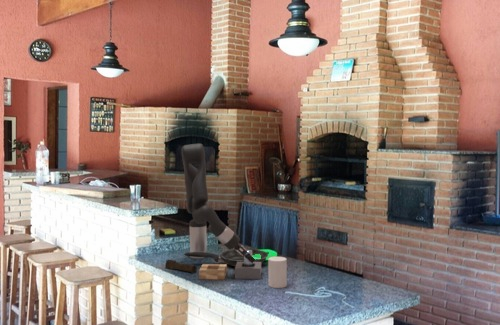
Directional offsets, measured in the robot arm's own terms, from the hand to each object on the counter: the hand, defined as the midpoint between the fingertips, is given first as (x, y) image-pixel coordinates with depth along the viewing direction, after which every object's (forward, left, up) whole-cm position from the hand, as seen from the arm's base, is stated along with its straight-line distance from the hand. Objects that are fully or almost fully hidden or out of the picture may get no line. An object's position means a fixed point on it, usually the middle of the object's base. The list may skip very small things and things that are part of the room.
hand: (251, 259), depth 243 cm
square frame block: (+1, -18, -8) cm, 20 cm away
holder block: (0, -1, -8) cm, 8 cm away
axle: (+1, -1, -8) cm, 8 cm away
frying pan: (-20, -12, -8) cm, 25 cm away
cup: (+15, +13, -8) cm, 22 cm away
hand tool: (-7, -36, -8) cm, 38 cm away
